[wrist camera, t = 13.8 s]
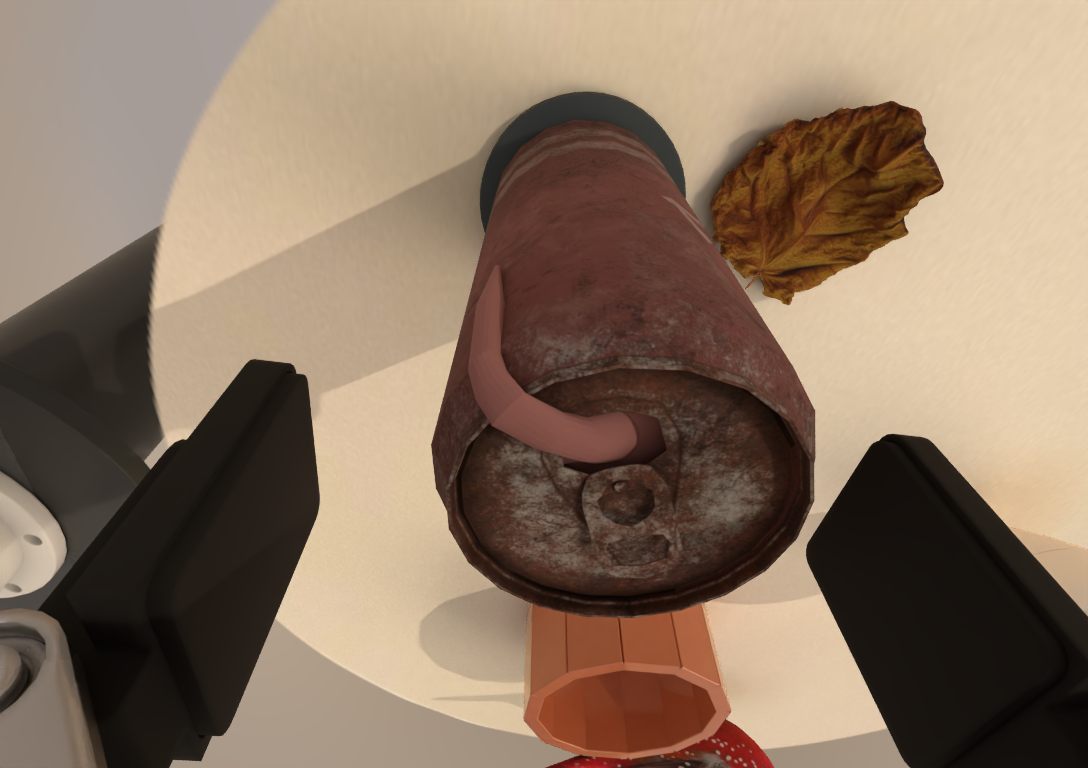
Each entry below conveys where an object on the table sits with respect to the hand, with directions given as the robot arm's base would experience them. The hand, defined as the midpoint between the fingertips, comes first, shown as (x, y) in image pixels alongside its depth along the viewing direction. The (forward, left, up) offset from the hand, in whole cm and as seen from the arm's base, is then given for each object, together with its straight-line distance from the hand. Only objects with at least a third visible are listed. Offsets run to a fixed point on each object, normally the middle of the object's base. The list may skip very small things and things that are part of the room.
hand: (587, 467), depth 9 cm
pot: (+7, -24, -13) cm, 29 cm away
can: (0, 0, -13) cm, 13 cm away
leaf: (+8, +2, -13) cm, 16 cm away
